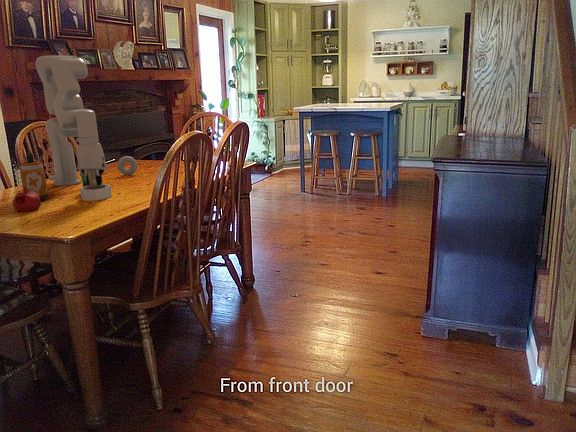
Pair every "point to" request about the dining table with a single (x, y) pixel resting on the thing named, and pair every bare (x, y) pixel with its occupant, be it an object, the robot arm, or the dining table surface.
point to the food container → (83, 179)
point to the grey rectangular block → (92, 178)
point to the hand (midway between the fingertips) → (94, 184)
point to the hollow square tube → (95, 187)
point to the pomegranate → (26, 200)
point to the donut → (127, 160)
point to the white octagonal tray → (95, 193)
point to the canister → (34, 176)
